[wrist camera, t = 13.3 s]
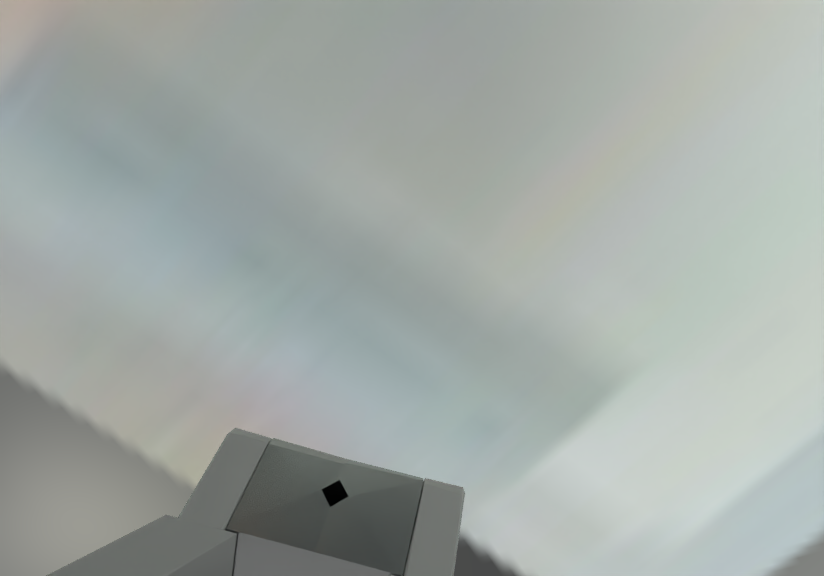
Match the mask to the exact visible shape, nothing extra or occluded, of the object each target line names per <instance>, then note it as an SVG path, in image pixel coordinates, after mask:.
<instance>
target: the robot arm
mask: <svg viewBox="0 0 824 576" xmlns="http://www.w3.org/2000/svg"><path fill="white" fill-rule="evenodd" d="M464 496H465V492H464V489H463V487H459V486H455V485H451V484H447V483H443V482H439V481H435V480H431V479H426V478H425V479H424V481H423V478H420V477H416V476H412V475H408V474H404V473H400V472H396V471H392V470H388V469H384V468H381V467H377V466H373V465H369V464H365V463H361V462H357V461H353V460H349V459H345V458H342V457H338V456H335V455H331V454H328V453H324V452H321V451H317V450H314V449H310V448H307V447H303V446H300V445H296V444H293V443H289V442H286V441H282V440H279V439H275V438H273V439H271V438H269V437H265V436H262V435H258V434H255V433H252V432H248V431H245V430H241V429H238V428H235V429H233V430H232V431H231V432H230V433H228V434H227V436H226V437H225V439H224V441H223V442H222V444H221V446H220V447H219V449H218V451H217V453H216V454H215V456H214V458H213V459H212V461H211V463H210V464H209V466H208V468H207V469H206V471H205V473H204V474H203V476H202V478H201V480H200V481H199V483H198V485H197V486H196V488H195V490H194V491H193V493H192V495H191V496H190V498H189V500H188V501H187V503H186V505H185V506H184V508H183V510H182V512H181V513H180V515H179V517H178V518H177V517H173V516H169V515H165V516H163V517H161V518H159V519H157V520H155V521H153V522H151V523H149V524H147V525H145V526H143V527H141V528H139V529H137V530H135V531H133V532H131V533H129V534H127V535H125V536H123V537H121V538H119V539H117V540H115V541H114V542H112V543H109V544H108V545H106V546H104V547H102V548H100V549H98V550H96V551H94V552H92V553H90V554H88V555H86V556H84V557H82V558H80V559H78V560H76V561H74V562H72V563H70V564H68V565H66V566H64V567H62V568H60V569H58V570H56V571H54V572H52V573H51V574H49V575H47V576H453V575H454V568H455V561H456V554H457V546H458V539H459V532H460V525H461V518H462V510H463V503H464Z"/></svg>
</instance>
